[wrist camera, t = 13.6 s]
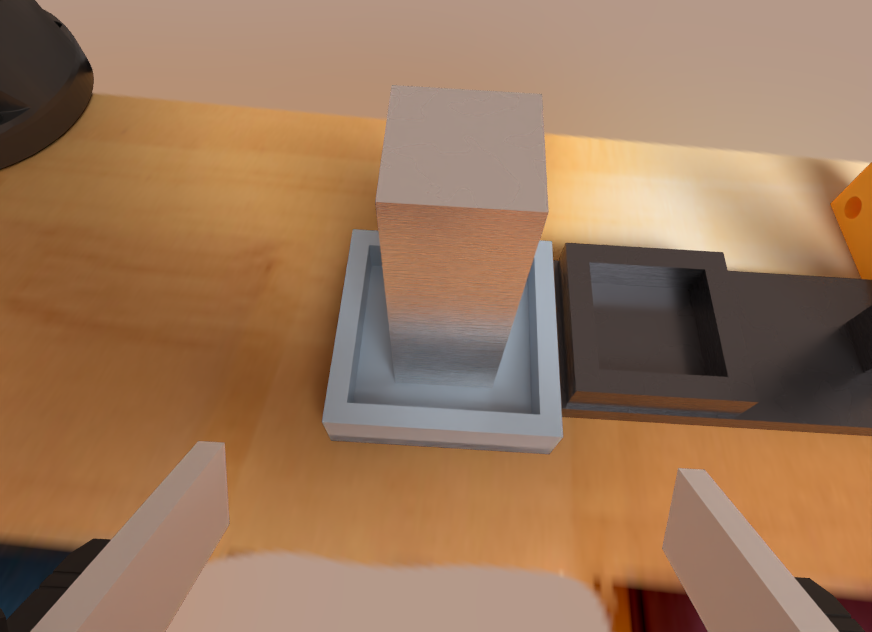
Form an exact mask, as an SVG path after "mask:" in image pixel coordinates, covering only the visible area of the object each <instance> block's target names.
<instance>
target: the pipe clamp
mask: <svg viewBox="0 0 872 632" xmlns="http://www.w3.org/2000/svg"><path fill="white" fill-rule="evenodd" d="M830 205H831V207H832V209H833V212H834V214H835V217H836V219H837V221H838V224H839V226H840V229H841V231H842V233H843V236H844V238H845V241H846V243H847V245H848V248H849V250H850V253H851V255H852V257H853V260H854V262H855V264H856V267H857V269H858V272H859V274H860V276H861V279H868V280H872V162H871V163H870V164H869V165H868V166H867V167H866V168H865V169H864V170H863V171H862V172H861V173H860V174H859V175H858V176H857V177H856V178H855V179H854V180H853V181H852V182H851V183H850V184H849V185H848V186H847V187H846V188H845V189H844V190H843V191H842V192H841V193H840V194H839V195H838V196H837V197H836V198H835V199H834V200H833V201H832V202H831V203H830Z"/></svg>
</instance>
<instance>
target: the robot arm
mask: <svg viewBox="0 0 872 632" xmlns="http://www.w3.org/2000/svg"><path fill="white" fill-rule="evenodd" d="M93 83H94V77H93V71H92V67H91V65H90V63H89V61H88V59H87V57H86V56H85V54H84V53H83V51H82V49H81V47H80V46H79V44H78V43H77V41H76V39H75V38H74V36H73V35H72V34H71V32H70V31H69V30H68V28H67V27H66V26H65V25H64V24H63V23H62V22H61V21H60V20H58V19H57V18H56V17H55V16H53V15H52V14H51V13H49V12H47V11H45V10H43V9H42V8H41V7H40V6H39V5H38V3H37V2H36V1H35V0H0V169H1V168H4V167H7V166H9V165H12V164H14V163H17V162H19V161H21V160H23V159H25V158H27V157H29V156H31V155H33V154H35V153H37V152H38V151H40V150H42V149H43V148H45V147H46V146H48V145H49V144H51V143H52V142H53V141H55V140H56V139H57V138H59V137H60V136H61V135H62V134H63V133H65V132H66V131H67V130H68V129H69V128H70V127H71V126H72V125H73V124H74V123H75V121H76V120H77V119H78V118H79V117H80V115H81V114H82V112H83V111H84V109H85V107H86V106H87V104H88V102H89V100H90V97H91V94H92V90H93ZM229 524H230V523H229V507H228V490H227V474H226V457H225V443H224V442H206V441H198V442H197V443H196V444H195V445H194V446H193V448H192V449H191V450H190V451H189V452H188V453H187V454H186V455H185V457H184V458H183V459H182V460H181V461H180V462H179V463H178V465H177V466H176V467H175V468H174V469H173V470H172V471H171V473H170V474H169V475H168V476H167V477H166V478H165V479H164V480H163V482H162V483H161V484H160V485H159V486H158V487H157V488H156V490H155V491H154V492H153V493H152V494H151V495H150V496H149V497H148V499H147V500H146V501H145V502H144V503H143V504H142V505H141V507H140V508H139V509H138V510H137V511H136V512H135V513H134V515H133V516H132V517H131V518H130V519H129V520H128V521H127V522H126V524H125V525H124V526H123V527H122V528H121V529H120V530H119V532H118V533H117V534H116V535H115V536H114V537H113V538H112V539H111V540H109V539H92V540H91V541H89V542H87V543H86V544H84V545H83V546H81V547H79V548H78V549H76V550H75V551H73V552H72V553H70V554H69V555H68V556H67V557H66V558H65V559H64V560H63V561H62V562H61V564H60V565H59V566H58V567H57V568H56V569H55V570H54V571H53V574H52V575H49V576H48V577H47V578H46V579H45V580H44V581H43V582H42V583H41V584H40V586H39V589H36V590H35V591H34V592H33V593H32V594H31V595H30V596H29V597H28V598H27V599H26V600H25V601H24V602H23V603H22V604H21V605H20V606H19V608H18V609H17V610H16V611H15V612H14V613H13V614H12V615H11V616H10V617H9V618H8V619H7V620H6V617H5V615H4V613H3V611H2V609H0V632H166V630H167V628H168V626H169V625H170V623H171V621H172V620H173V618H174V616H175V615H176V613H177V611H178V610H179V608H180V606H181V605H182V603H183V601H184V600H185V598H186V596H187V594H188V593H189V591H190V589H191V588H192V586H193V585H194V583H195V581H196V580H197V578H198V576H199V574H200V573H201V571H202V569H203V568H204V566H205V564H206V563H207V561H208V559H209V558H210V556H211V554H212V553H213V551H214V549H215V548H216V546H217V544H218V543H219V541H220V539H221V537H222V536H223V534H224V532H225V531H226V529H227V527H228V526H229ZM662 549H663V551H664V553H665V555H666V556H667V558H668V560H669V562H670V564H671V565H672V567H673V569H674V571H675V573H676V574H677V576H678V578H679V580H680V582H681V584H682V585H683V587H684V589H685V591H686V593H687V594H688V596H689V598H690V600H691V602H692V603H693V605H694V607H695V609H696V611H697V612H698V614H699V616H700V618H701V620H702V621H703V623H704V625H705V627H706V629H707V631H708V632H865V631H864V630H863V629H862V627H861V626H860V625H859V624H858V623H857V622H856V621H855V620H854V619H851V615H850V614H849V613H848V612H847V611H846V609H845V608H844V607H843V606H842V605H841V604H840V603H839V601H838V600H837V599H836V598H835V597H834V596H833V595H832V594H830V593H829V592H828V591H826V590H825V589H824V588H822V587H821V586H819V585H818V584H817V583H815V582H814V581H813V580H811V579H810V578H798V577H793V575H792V574H791V573H790V572H789V571H788V569H787V568H786V567H785V566H784V565H783V563H782V562H781V561H780V560H779V559H778V557H777V556H776V555H775V554H774V553H773V551H772V550H771V549H770V548H769V547H768V545H767V544H766V543H765V542H764V541H763V539H762V538H761V537H760V536H759V534H758V533H757V532H756V531H755V530H754V528H753V527H752V526H751V525H750V524H749V522H748V521H747V520H746V519H745V518H744V516H743V515H742V514H741V513H740V512H739V510H738V509H737V508H736V507H735V506H734V504H733V503H732V502H731V501H730V500H729V498H728V497H727V496H726V495H725V494H724V492H723V491H722V490H721V489H720V488H719V486H718V485H717V484H716V483H715V482H714V480H713V479H712V478H711V477H710V475H709V474H708V473H707V472H706V471H705V470H701V469H683V468H678V472H677V477H676V482H675V487H674V492H673V497H672V502H671V507H670V512H669V517H668V522H667V527H666V532H665V537H664V542H663V547H662Z"/></svg>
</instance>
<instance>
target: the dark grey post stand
mask: <svg viewBox="0 0 872 632" xmlns="http://www.w3.org/2000/svg"><path fill="white" fill-rule="evenodd" d="M553 269H554V287H555V305H556V322H557V340H558V358H559V376H560V393H561V411H562V417H574V418H590V419H606V420H623V421H639V422H655V423H671V424H687V425H703V426H719V427H735V428H751V429H767V430H783V431H800V432H816V433H832V434H848V435H864V436H872V280H868V279H852V278H835V277H819V276H802V275H786V274H769V273H753V272H737V271H727V267H726V262H725V258H724V254H723V252H708V251H692V250H675V249H659V248H642V247H626V246H610V245H593V244H577V243H565V246H564V248H563V251H562V253H561V256H560V259H559V261H556V260H554V262H553Z"/></svg>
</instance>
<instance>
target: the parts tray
mask: <svg viewBox="0 0 872 632" xmlns="http://www.w3.org/2000/svg"><path fill="white" fill-rule="evenodd" d="M322 423H323V425H324V427H325V429H326V431H327V433H328V435H329V437H330V439H331V441H347V442H363V443H379V444H395V445H411V446H427V447H443V448H459V449H475V450H491V451H507V452H523V453H539V454H550V453H551V451H552V450H553V449H554V448H555V446H556V445H557V444H558V443H559V442H560V440H561V439H562V438H563V429H562V411H561V393H560V376H559V358H558V340H557V322H556V305H555V287H554V269H553V252H552V241H539V243H538V247H537V250H536V253H535V256H534V259H533V262H532V265H531V269H530V272H529V275H528V278H527V281H526V284H525V287H524V290H523V294H522V297H521V300H520V303H519V306H518V309H517V312H516V316H515V319H514V322H513V325H512V328H511V331H510V334H509V337H508V341H507V344H506V347H505V350H504V353H503V356H502V359H501V362H500V366H499V369H498V372H497V375H496V378H495V381H494V384H493V388H477V387H460V386H444V385H428V384H412V383H396V382H395V378H394V369H393V360H392V351H391V341H390V332H389V323H388V314H387V305H386V295H385V286H384V277H383V268H382V259H381V249H380V240H379V231H374V230H358V229H353V232H352V238H351V244H350V251H349V257H348V263H347V269H346V275H345V282H344V288H343V294H342V300H341V306H340V313H339V319H338V325H337V331H336V337H335V344H334V350H333V356H332V362H331V368H330V375H329V381H328V387H327V393H326V400H325V406H324V412H323V418H322Z"/></svg>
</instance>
